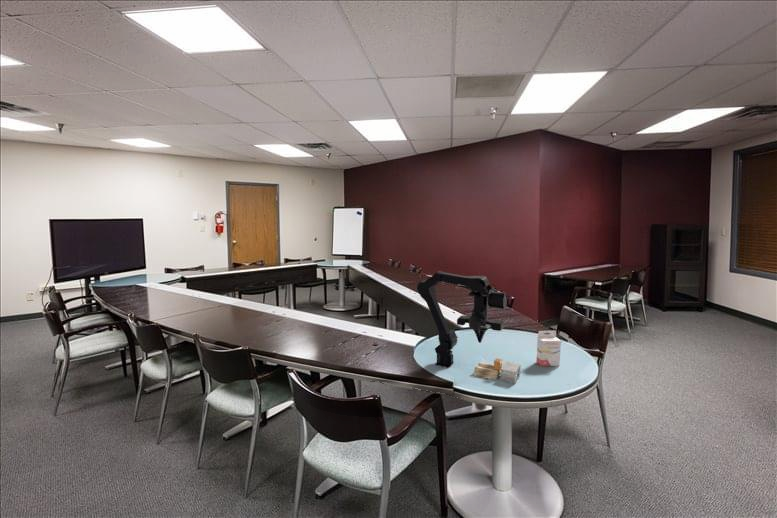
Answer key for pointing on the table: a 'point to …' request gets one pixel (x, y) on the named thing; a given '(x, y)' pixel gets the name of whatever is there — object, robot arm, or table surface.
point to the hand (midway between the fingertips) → (479, 342)
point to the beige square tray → (486, 371)
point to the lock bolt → (498, 365)
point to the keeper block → (510, 372)
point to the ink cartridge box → (548, 349)
